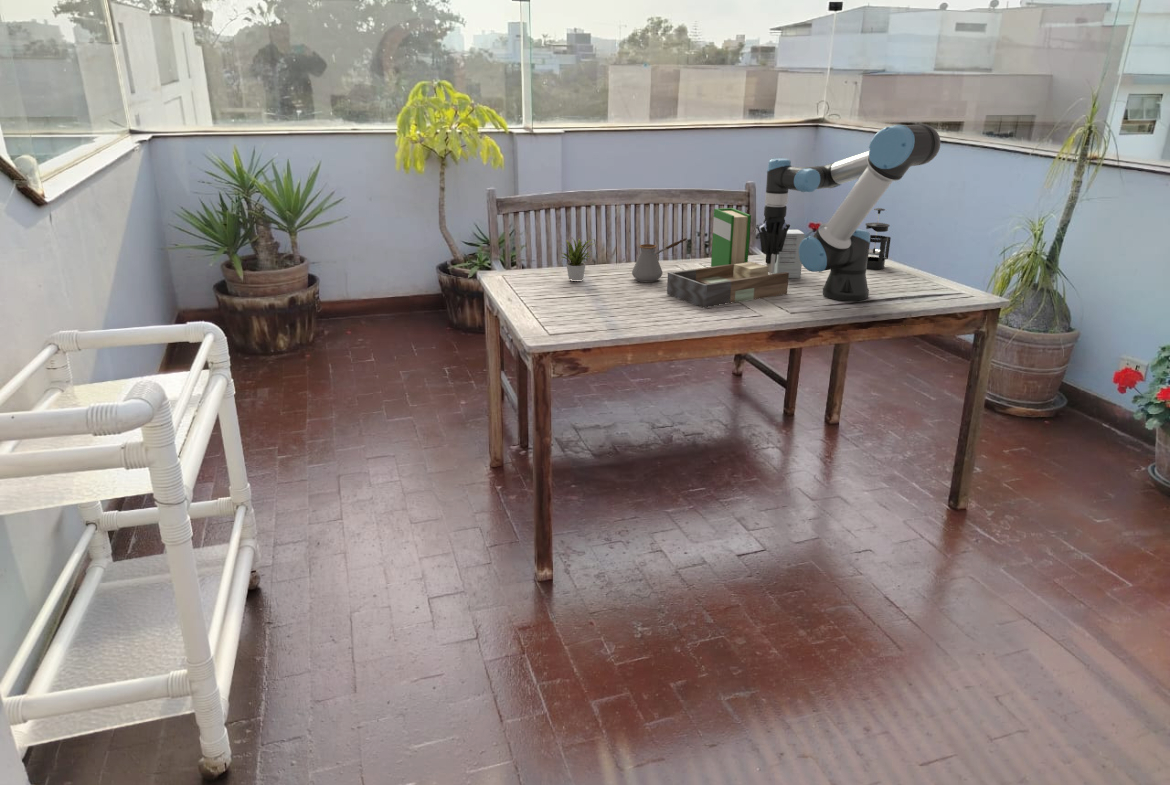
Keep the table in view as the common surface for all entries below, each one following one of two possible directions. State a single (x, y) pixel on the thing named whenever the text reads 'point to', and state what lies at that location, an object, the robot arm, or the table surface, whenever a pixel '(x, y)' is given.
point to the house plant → (576, 260)
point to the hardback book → (730, 237)
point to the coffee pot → (649, 263)
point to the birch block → (749, 270)
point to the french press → (879, 262)
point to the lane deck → (723, 285)
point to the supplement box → (790, 255)
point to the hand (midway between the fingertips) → (770, 272)
